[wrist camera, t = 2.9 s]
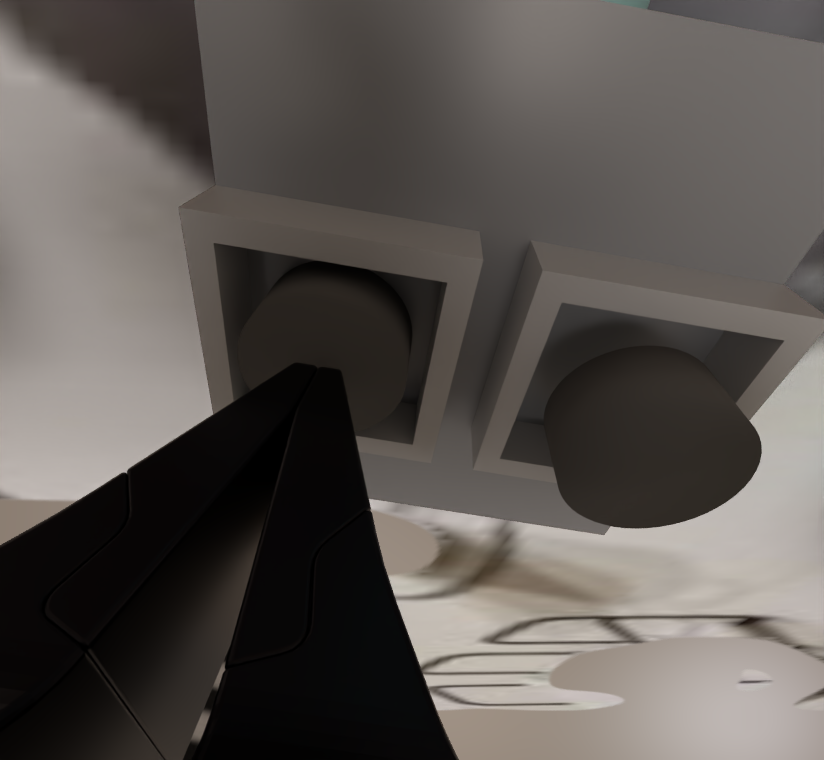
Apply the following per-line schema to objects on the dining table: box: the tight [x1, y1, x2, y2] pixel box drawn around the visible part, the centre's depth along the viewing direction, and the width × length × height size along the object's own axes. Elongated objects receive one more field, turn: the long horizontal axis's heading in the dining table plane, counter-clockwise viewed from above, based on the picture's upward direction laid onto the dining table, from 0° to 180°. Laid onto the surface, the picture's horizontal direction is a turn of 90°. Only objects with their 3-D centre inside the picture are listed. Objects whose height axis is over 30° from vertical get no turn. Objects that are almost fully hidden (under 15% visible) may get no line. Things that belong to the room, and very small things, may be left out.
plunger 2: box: [544, 346, 762, 528], centre depth 8 cm, size 3×3×2 cm
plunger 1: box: [237, 261, 413, 432], centre depth 9 cm, size 3×3×2 cm
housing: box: [179, 0, 824, 535], centre depth 12 cm, size 11×12×8 cm
